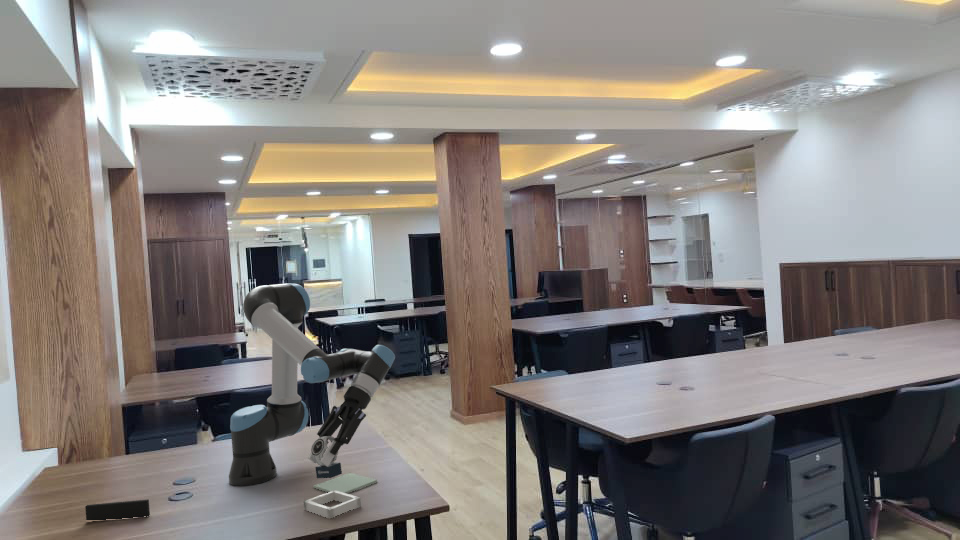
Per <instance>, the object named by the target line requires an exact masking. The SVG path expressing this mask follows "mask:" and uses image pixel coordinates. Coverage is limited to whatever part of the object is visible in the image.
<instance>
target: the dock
mask: <svg viewBox="0 0 960 540" xmlns="http://www.w3.org/2000/svg"><path fill="white" fill-rule="evenodd" d="M333 500H335V502H337V501H339V502H338V504H336V505H333V506H331V507H330V506H328V505H326V504H329V503H331V502H333ZM330 501H331V502H330ZM328 502H329V503H328ZM341 502H342V503H341ZM361 502H362V500H361V497H359V496H356V495H353V494H351V493H348V494H346V493H343V492H340V491H336V490H333V491H330V492H328V493H327V492H324V493H323V494H320V495H317V496H315V497H311V498H309V499H306V500H304V501H303V508H304V511H306V512H308V511H309V513H311V512H312V513H311V514H314V513H315V514H314V515H317V514H318V515H317V516H320V515H321V516H320V517H323V518H325V517H326V518H325V519H328V518H332V519H334V518H336V517H335V516H337V515H339V516H341V515H340V514H342V513H344V512H346V513H348V512H347V511H349V510H351V511H353V509H354V510H356V509H358V508H361V507H362V503H361ZM325 503H326V504H325ZM323 504H324V505H323ZM349 512H350V511H349ZM344 514H345V513H344ZM342 515H343V514H342ZM333 517H334V518H333ZM337 517H338V516H337Z"/></svg>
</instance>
